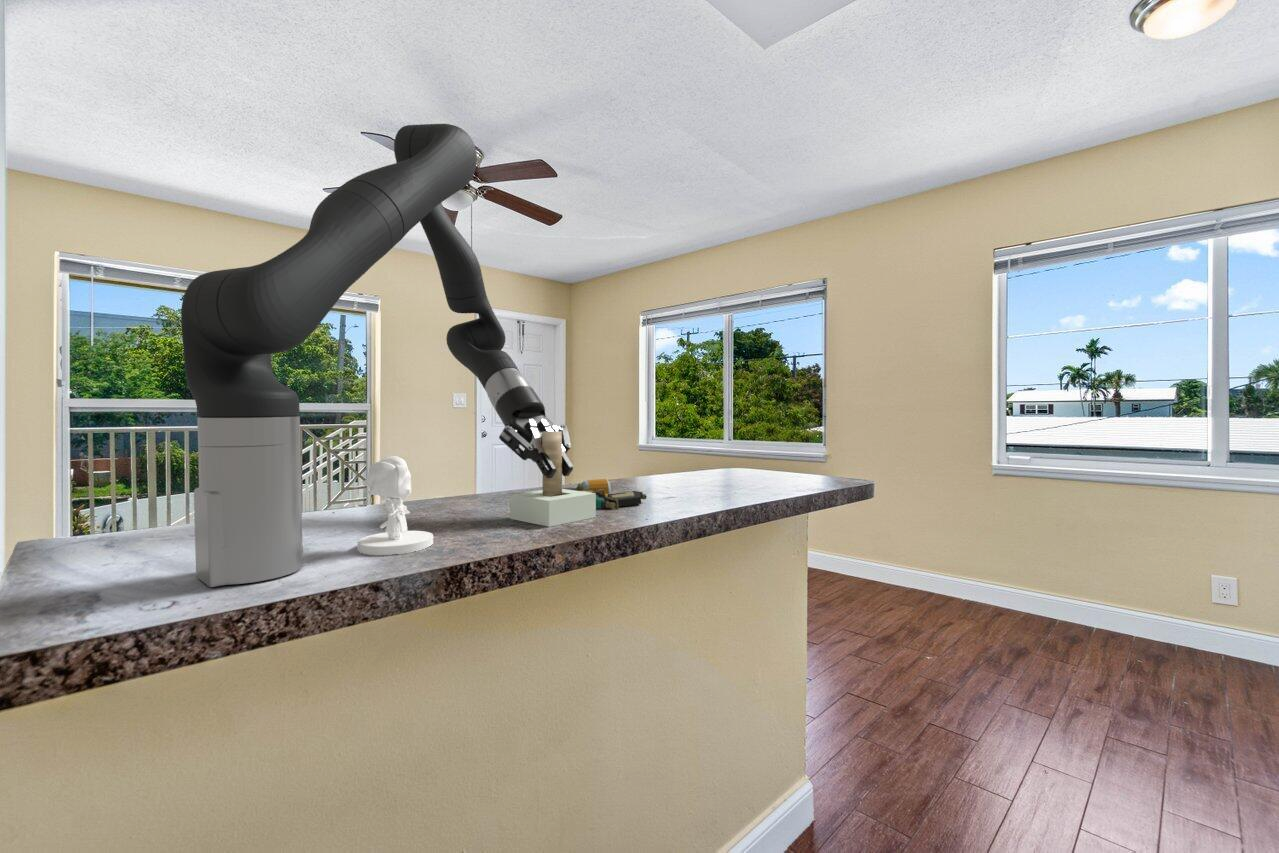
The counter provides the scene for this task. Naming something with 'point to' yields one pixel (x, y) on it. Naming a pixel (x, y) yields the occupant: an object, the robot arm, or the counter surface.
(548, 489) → the peg
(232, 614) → the counter surface
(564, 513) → the socket block
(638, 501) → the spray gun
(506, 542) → the counter surface
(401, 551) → the figurine
